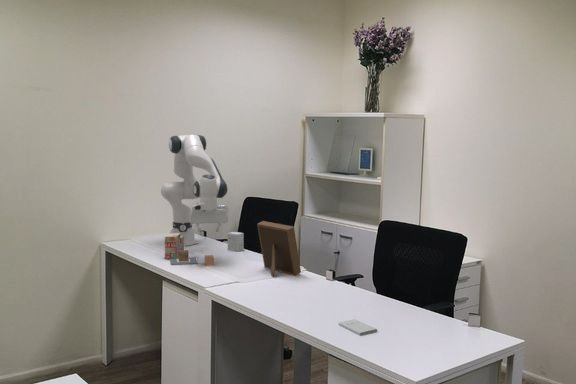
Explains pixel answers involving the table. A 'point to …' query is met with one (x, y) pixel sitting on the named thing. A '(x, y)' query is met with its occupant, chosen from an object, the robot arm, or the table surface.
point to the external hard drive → (357, 327)
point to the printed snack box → (173, 245)
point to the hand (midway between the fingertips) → (208, 231)
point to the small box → (235, 241)
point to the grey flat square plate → (176, 261)
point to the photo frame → (279, 248)
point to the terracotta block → (209, 260)
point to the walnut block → (183, 255)
